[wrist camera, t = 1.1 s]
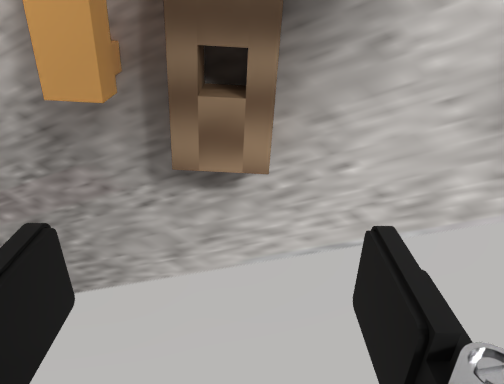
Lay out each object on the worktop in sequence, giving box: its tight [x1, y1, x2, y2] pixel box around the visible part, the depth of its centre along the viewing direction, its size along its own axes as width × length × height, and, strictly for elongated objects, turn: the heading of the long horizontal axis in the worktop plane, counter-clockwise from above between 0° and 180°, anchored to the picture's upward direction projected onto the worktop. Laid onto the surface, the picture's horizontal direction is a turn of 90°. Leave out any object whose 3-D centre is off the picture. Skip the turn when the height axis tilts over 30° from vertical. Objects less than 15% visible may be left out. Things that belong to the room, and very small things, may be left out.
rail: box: [163, 0, 283, 174], centre depth 27 cm, size 24×8×4 cm, turn 177°
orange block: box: [23, 0, 122, 103], centre depth 25 cm, size 12×4×7 cm, turn 177°
